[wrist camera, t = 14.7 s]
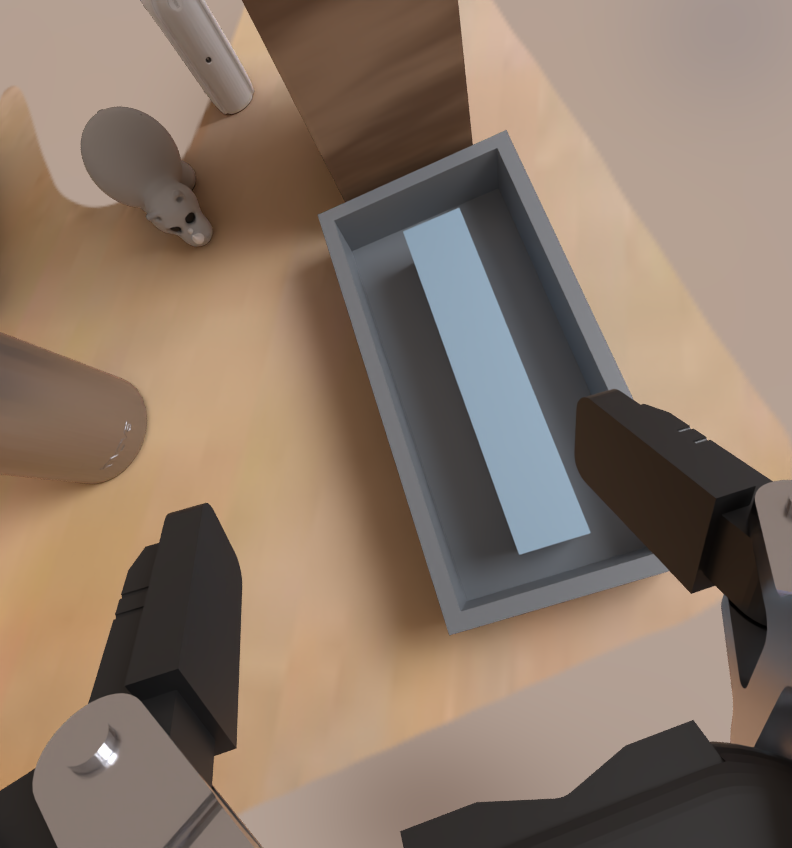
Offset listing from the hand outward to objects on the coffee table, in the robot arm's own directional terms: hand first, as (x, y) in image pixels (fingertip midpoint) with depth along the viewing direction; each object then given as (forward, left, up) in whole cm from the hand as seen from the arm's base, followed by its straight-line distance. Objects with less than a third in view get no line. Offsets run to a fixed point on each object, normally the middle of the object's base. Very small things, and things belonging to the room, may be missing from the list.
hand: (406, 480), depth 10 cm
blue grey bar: (-3, +8, -22) cm, 24 cm away
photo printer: (-39, +26, -23) cm, 52 cm away
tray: (-3, +8, -23) cm, 25 cm away
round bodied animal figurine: (-35, +12, -23) cm, 44 cm away
